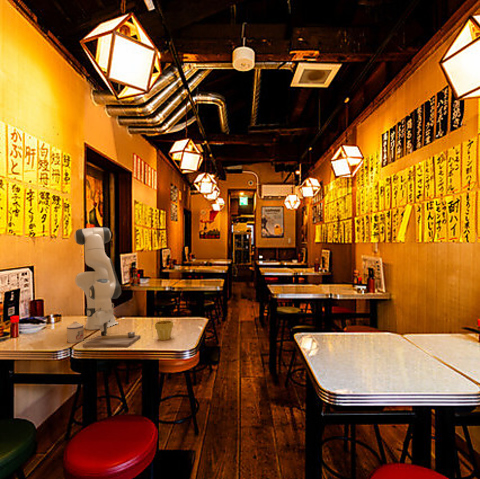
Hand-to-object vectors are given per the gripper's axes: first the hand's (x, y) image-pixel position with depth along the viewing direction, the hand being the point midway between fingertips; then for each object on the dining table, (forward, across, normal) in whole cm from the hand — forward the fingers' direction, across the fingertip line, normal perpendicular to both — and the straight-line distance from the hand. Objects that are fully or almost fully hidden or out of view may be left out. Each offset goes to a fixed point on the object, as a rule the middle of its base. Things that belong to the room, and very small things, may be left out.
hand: (103, 330), depth 196 cm
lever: (+5, 0, -8) cm, 9 cm away
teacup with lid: (+6, +3, +18) cm, 19 cm away
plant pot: (+7, 0, -36) cm, 36 cm away
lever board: (+6, -4, -6) cm, 10 cm away
